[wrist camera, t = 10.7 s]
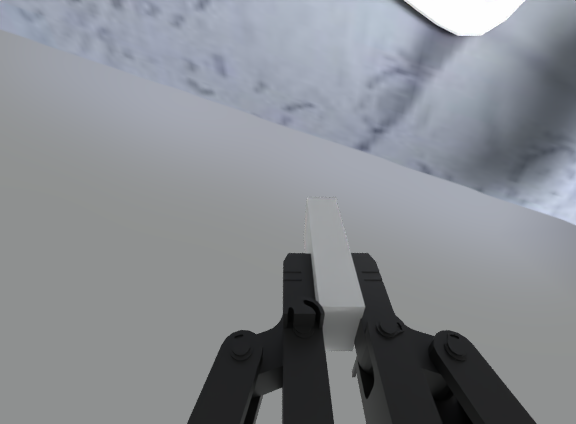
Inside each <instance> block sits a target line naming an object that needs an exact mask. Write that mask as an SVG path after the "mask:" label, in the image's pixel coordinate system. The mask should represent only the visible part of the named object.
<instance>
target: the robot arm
mask: <svg viewBox="0 0 576 424" xmlns="http://www.w3.org/2000/svg"><path fill="white" fill-rule="evenodd" d="M304 244H305V253H289V254H288V255H287V256H286V258H285V260H284V263H283V266H284V267H283V316H282V318H281V320H280V322H279V323H278V324H277V325H276V326H275V327H274V328H272V329H270V330H268V331H265V332H262V333H259V334H255V333H253V332H251V331H246V330H240V331H237V332H234V333H232V334H231V335H230V336H228V337H227V338H226V339H225V341H224V342H223V344H222V345H221V348H220V350H219V352H218V355H217V357H216V359H215V362H214V364H213V366H212V368H211V371H210V373H209V375H208V377H207V380H206V382H205V384H204V386H203V389H202V391H201V393H200V395H199V398H198V400H197V402H196V405H195V407H194V409H193V412H192V414H191V416H190V418H189V420H188V423H187V424H255V422H256V419H257V415H258V412H259V408H260V405H261V401H262V397H263V395H264V394H267V393H269V392H272V391H274V390H276V389H279V388H282V424H334V420H333V411H332V404H331V395H330V386H329V378H328V370H327V362H326V353H325V351H352V350H353V347H354V344H355V348H356V353H357V357H356V361H355V364H354V367H353V371H352V377H355V376H356V373H357V378H358V383H359V388H360V393H361V398H362V403H363V409H364V414H365V418H366V424H536V422H535V421H534V420H533V419H532V418H531V416H530V415H529V414H528V412H527V411H526V410H525V409H524V407H523V406H522V405H521V404H520V403H519V401H518V400H517V399H516V398H515V396H514V395H513V394H512V393H511V391H510V390H509V389H508V388H507V386H506V385H505V384H504V383H503V382H502V380H501V379H500V378H499V376H498V375H497V374H496V373H495V371H494V370H493V369H492V368H491V366H490V365H489V364H488V363H487V361H486V360H485V359H484V358H483V357H482V355H481V354H480V353H479V352H478V350H477V349H476V348H475V347H474V345H473V344H472V343H471V342H470V341H469V340H468V339H467V338H465V337H464V336H462V335H460V334H459V333H456V332H453V331H449V330H448V331H447V330H446V331H440V332H438V333H437V334H436V335H435V336H432V335H429V334H425V333H422V332H419V331H415V330H413V329H410V328H409V327H407V326H406V325H404V323H403V322H402V321H401V320H400V319H399V318H398V317H397V316H396V315H395V313H394V311H393V309H392V306H391V303H390V300H389V297H388V295H387V292H386V289H385V286H384V283H383V282H382V278H381V275H380V274H379V269H378V267H377V264H376V262H375V260H374V259H373V258H372V257H371V256H370V255H369V254H368V253H351V252H350V248H349V244H348V241H347V237H346V233H345V230H344V226H343V222H342V218H341V215H340V211H339V207H338V203H337V200H336V198H335V197H332V198H331V197H329V198H327V197H307V201H306V216H305V230H304Z"/></svg>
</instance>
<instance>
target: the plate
mask: <svg viewBox="0 0 576 424" xmlns="http://www.w3.org/2000/svg"><path fill="white" fill-rule="evenodd" d="M404 1H405V2H406V3H408V4H409V5H410V6H411V7H413V8H414V9H415V10H417V11H418V12H419V13H421V14H422V15H423V16H425V17H426V18H428V19H429V20H430V21H432V22H433V23H434V24H436V25H438V26H440V27H442V28H444V29H445V30H447V31H449V32H451V33H453V34H455V35H457V36H481V35H483V34H485V33H486V32H488V31H489V30H491V29H493V28H494V27H496V26H498V25H499V24H501V23H502V22H504V21H506V20H507V19H508V18H509V17H510V16H511V14H512V13H513V12H514V11H515V10H516V9H517V8H518V7H519V6H520V5H521V4H522V3H523V2H524V1H525V0H404Z"/></svg>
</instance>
